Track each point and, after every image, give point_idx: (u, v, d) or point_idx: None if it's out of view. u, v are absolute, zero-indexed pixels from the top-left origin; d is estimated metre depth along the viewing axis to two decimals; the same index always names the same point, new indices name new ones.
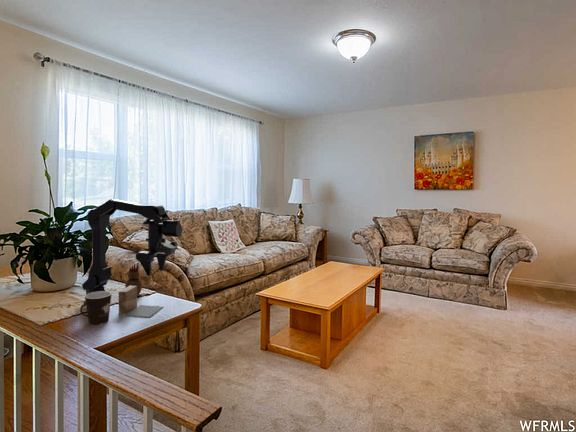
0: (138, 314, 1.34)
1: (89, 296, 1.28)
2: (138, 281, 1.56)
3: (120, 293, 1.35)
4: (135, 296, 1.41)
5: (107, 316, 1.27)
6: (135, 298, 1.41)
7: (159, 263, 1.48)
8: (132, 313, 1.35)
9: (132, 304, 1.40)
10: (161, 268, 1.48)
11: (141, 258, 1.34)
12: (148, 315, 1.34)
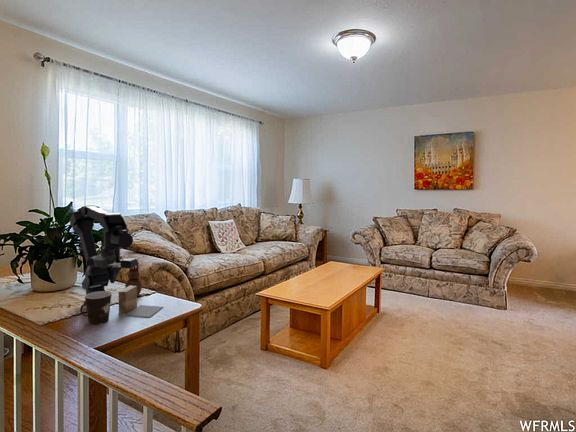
0: (138, 314, 1.34)
1: (89, 296, 1.28)
2: (138, 281, 1.56)
3: (120, 293, 1.35)
4: (135, 296, 1.41)
5: (107, 316, 1.27)
6: (135, 298, 1.41)
7: None
8: (132, 313, 1.35)
9: (132, 304, 1.40)
10: None
11: None
12: (148, 315, 1.34)
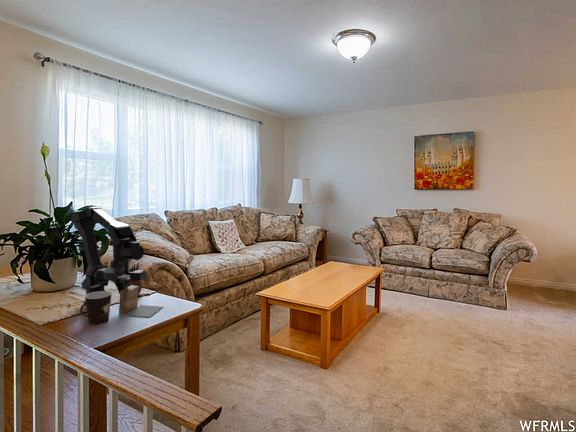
0: (138, 314, 1.34)
1: (89, 296, 1.28)
2: (138, 281, 1.56)
3: (122, 293, 1.34)
4: (136, 296, 1.41)
5: (107, 316, 1.27)
6: (136, 298, 1.41)
7: None
8: (132, 313, 1.35)
9: (133, 304, 1.40)
10: None
11: None
12: (148, 315, 1.34)
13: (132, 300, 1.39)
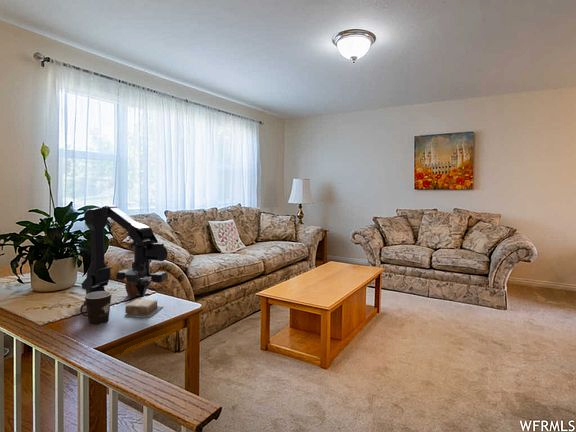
0: (138, 314, 1.34)
1: (89, 296, 1.28)
2: None
3: (145, 309, 1.34)
4: None
5: (107, 316, 1.27)
6: None
7: None
8: None
9: None
10: None
11: None
12: (148, 315, 1.34)
13: None
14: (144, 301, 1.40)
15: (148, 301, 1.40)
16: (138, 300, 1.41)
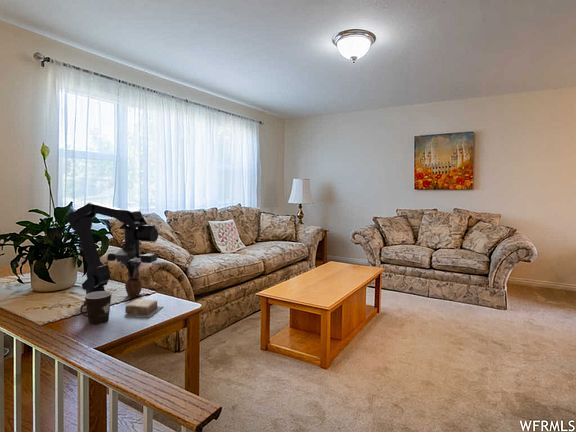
0: (138, 314, 1.34)
1: (89, 296, 1.28)
2: (138, 281, 1.56)
3: (145, 309, 1.34)
4: None
5: (107, 316, 1.27)
6: None
7: None
8: None
9: None
10: None
11: None
12: (148, 315, 1.34)
13: None
14: (144, 301, 1.40)
15: (148, 301, 1.40)
16: (138, 300, 1.41)
